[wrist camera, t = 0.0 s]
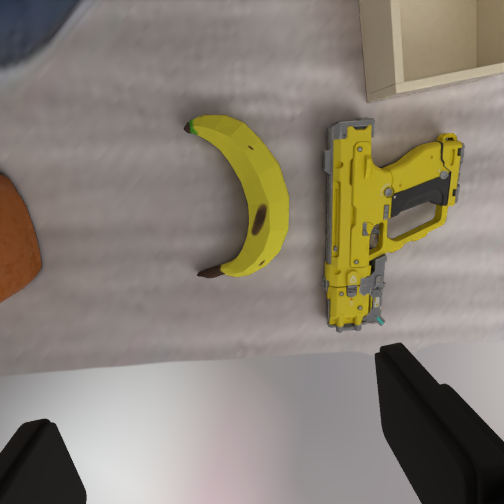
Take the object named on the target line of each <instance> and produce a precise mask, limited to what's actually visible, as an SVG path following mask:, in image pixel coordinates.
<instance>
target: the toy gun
mask: <svg viewBox="0 0 504 504" xmlns="http://www.w3.org/2000/svg"><path fill="white" fill-rule="evenodd" d="M374 128H375V120H374V118H367V117H364V118H357V119H356V120H354V121H343V122H336V123H334V124H333V125H331V126H330V127H328V128H327V130H328V149H327V150H324V151H323V170H324V171H325V172H326V173H327V174H328V175H327V182H328V186H327V214H328V215H327V223H326V224H327V229H326V234H327V238H326V262H325V278H323V279H322V287H323V288H324V289H325V290H326V292H327V318H328V322H327V325H328V326H329V327H332V328H333V327H336V331H337V332H339V333H341V332H343V331H350V330H356V331H360V330H361V325H365V324H367V323H372V324H374V323H378V324H379V325H380V326H382V325H383V324H384V323H385V320H384V319H383V317H382V316H381V309H380V306H381V305H382V293H383V288H385V287H386V284H385V283H384V282H383V280H384V267H385V262H387V256H386V255H385V253H387V252H390V253H392V252H394V251H396V250H398V249H401V248H402V246H403V245H404V244H405V243H407V242H409V241H416V240H419V239H421V238H423V237H425V236H426V235H427V233H428V232H430V231H432V230H434V229H436V228H438V227H440V226H442V225H443V224H444V223H445V222H446V217H447V210H448V206H453V205H454V204H455V203H457V202H458V194H459V188H460V185H459V184H458V182H459V176H460V173H459V172H460V167H461V163H462V162H463V161H462V160H463V156H464V148H465V146H464V143H461V142H460V141H457V136H456V135H455V134H454V133H444V134H440V135H439V136H438V138H437V140H436V141H435V142H430V143H426V144H422V145H419V146H417V147H415V148H414V149H412V150H411V151H409V152H408V153H407V154H406V155H404V156H403V157H402V158H401V159H399V160H398V161H397V162H395V163H393V164H391V165H388V166H386V167H383V168H379V167H377V166H375V165H374V163H373V162H372V157H371V138H372V137H374ZM446 138H448V140H446ZM427 201H429V202H431V203H433V204H436V210H435V217H434V218H433V220H431V221H429V222H427V223H424V224H422V225H420V226H418V227H416V228H414V229H412V230H410V231H408V232H406V233H404V234H402V235H400V236H397V237H395V238H393V239H391V238H388V237H387V224H388V219H390V218H392V217H394V216H396V215H398V214H399V213H400V212H401V211H404V210H407V209H409V208H412V207H414V206H417V205H419V204H422V203H424V202H427ZM376 224H379V230H377V229H374V228H373V227H374V226H375V225H376ZM371 233H377V234H379V236H378V243H377V246H376V247H375V248H373V249H371V250H369V241H370V234H371ZM323 281H324V286H323ZM369 295H370V301H369ZM368 307H369V308H368Z"/></svg>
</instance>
